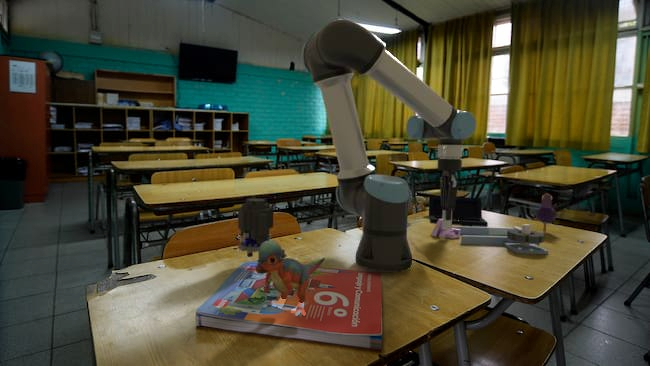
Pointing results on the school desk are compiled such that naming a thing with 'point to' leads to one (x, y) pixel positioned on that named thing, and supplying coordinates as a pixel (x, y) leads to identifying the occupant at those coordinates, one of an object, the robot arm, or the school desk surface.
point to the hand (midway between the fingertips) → (446, 229)
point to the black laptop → (459, 211)
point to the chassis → (500, 238)
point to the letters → (445, 231)
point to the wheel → (526, 236)
